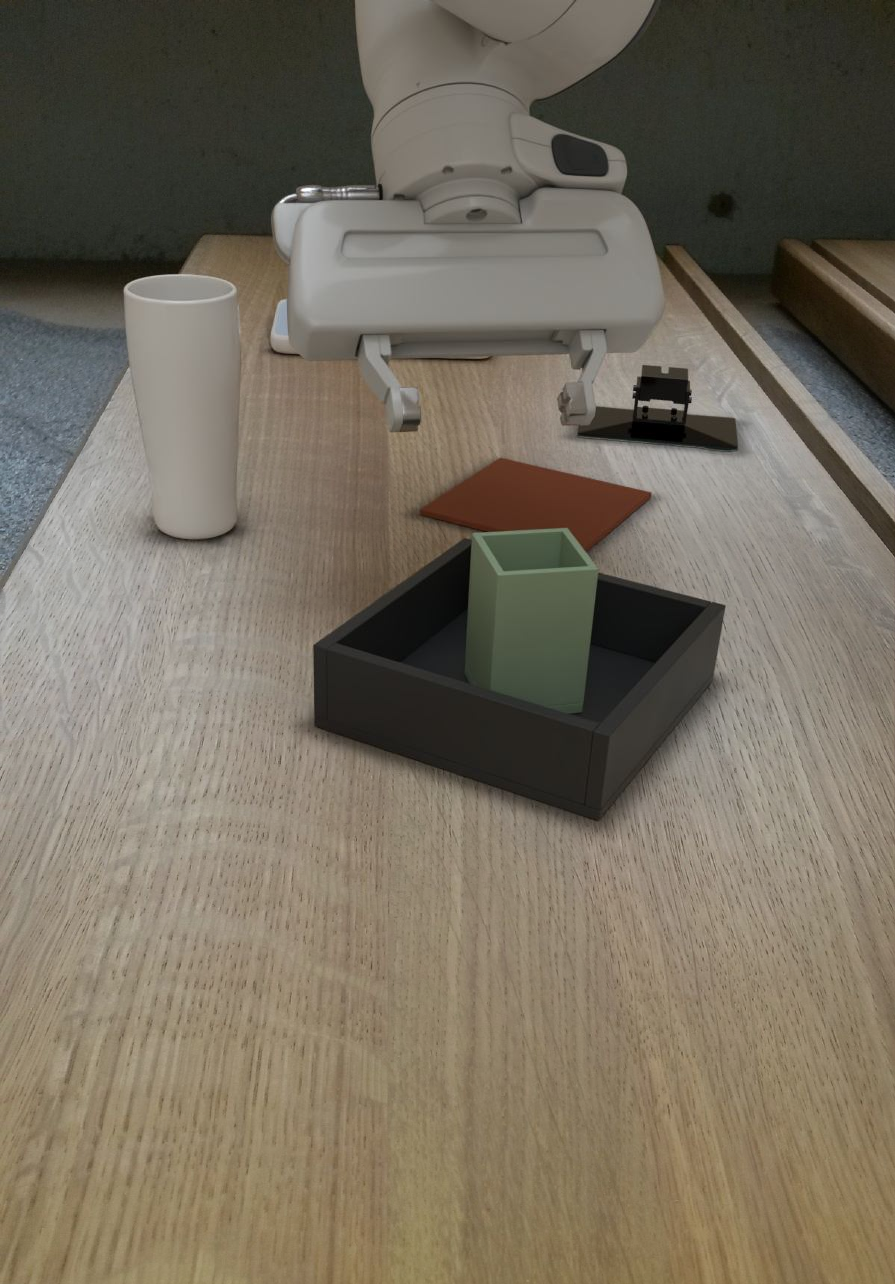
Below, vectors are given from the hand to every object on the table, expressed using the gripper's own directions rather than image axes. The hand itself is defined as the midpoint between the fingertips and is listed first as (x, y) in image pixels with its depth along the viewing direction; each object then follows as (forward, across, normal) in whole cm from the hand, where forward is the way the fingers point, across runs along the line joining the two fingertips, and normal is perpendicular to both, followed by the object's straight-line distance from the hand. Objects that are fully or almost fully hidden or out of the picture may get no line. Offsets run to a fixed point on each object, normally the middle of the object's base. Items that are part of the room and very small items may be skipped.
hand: (493, 424), depth 71 cm
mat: (-4, +8, +21) cm, 23 cm away
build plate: (-14, +23, +31) cm, 41 cm away
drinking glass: (-3, -15, +20) cm, 25 cm away
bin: (+14, 0, +2) cm, 15 cm away
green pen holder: (+14, 0, +2) cm, 14 cm away
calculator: (-33, +6, +50) cm, 60 cm away
